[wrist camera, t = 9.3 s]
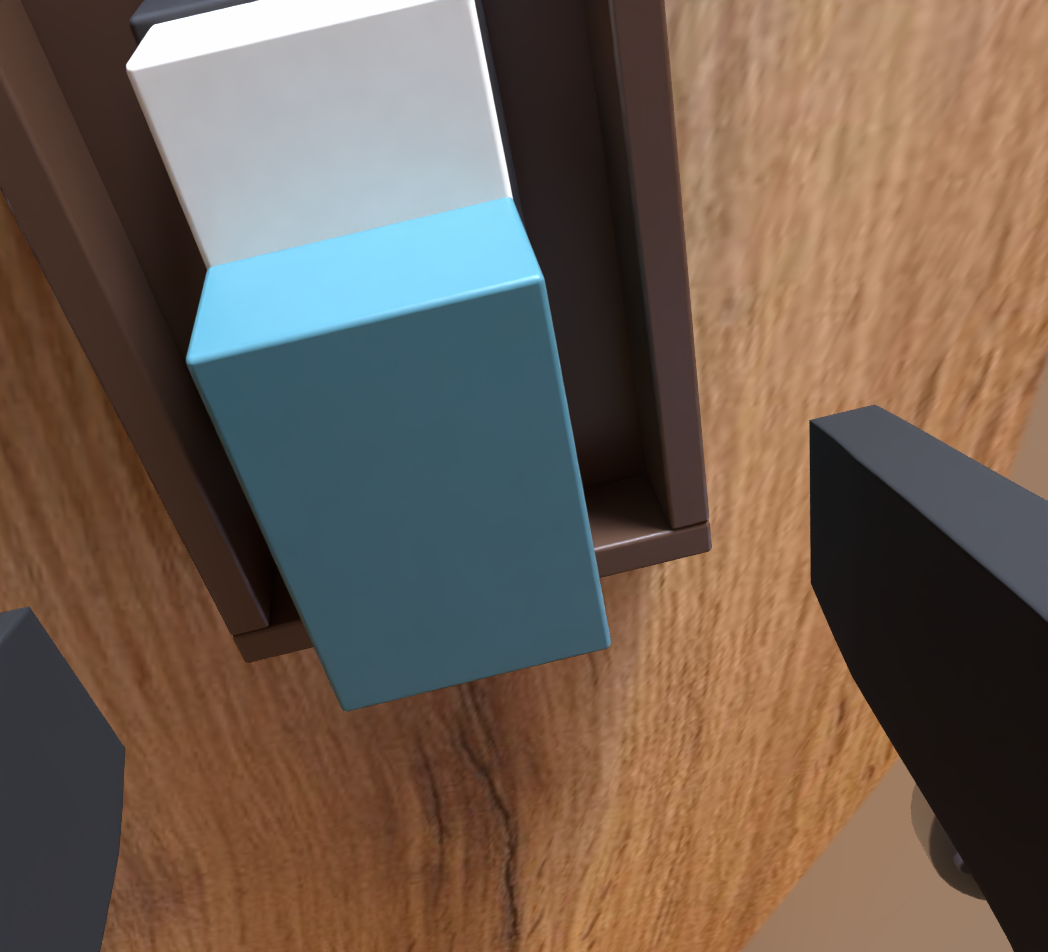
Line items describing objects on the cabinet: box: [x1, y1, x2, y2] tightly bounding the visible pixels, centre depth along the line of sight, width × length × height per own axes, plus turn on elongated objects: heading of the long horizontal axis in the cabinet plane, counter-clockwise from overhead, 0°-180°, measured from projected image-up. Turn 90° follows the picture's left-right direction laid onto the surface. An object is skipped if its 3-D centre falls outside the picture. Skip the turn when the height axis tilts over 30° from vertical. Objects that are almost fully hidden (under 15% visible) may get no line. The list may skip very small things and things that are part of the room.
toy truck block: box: [126, 0, 611, 711], centre depth 11 cm, size 7×4×4 cm, turn 10°
